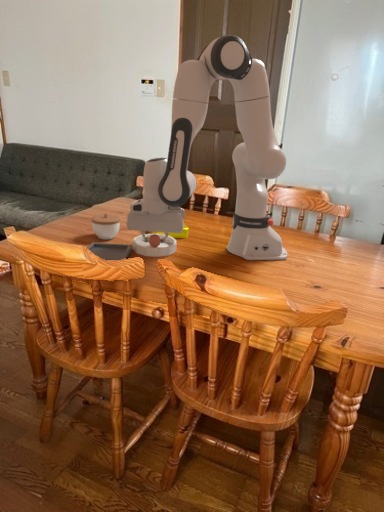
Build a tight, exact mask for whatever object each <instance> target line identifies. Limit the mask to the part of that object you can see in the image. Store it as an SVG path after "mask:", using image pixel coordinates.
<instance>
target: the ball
mask: <svg viewBox="0 0 384 512" xmlns="http://www.w3.org/2000/svg"><path fill="white" fill-rule="evenodd" d="M160 243H161V238H160V236H159V235H157V234H153V235H151V236H150V237H149V244H150V245H151V246H153V247H157V246H159V245H160Z"/></svg>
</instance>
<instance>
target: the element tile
mask: <svg viewBox="0 0 384 512" xmlns="http://www.w3.org/2000/svg"><path fill="white" fill-rule="evenodd" d="M147 232H148V234H162V235H165V232H154V231H147ZM189 234H190V227H189V226H188V225H187V224H186V223H185V222H184V221H183V231H182V232H181V233H170V232H169V235H168V236H171V237H173V238H174V239H175V240H177V239H187V238H189Z"/></svg>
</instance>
